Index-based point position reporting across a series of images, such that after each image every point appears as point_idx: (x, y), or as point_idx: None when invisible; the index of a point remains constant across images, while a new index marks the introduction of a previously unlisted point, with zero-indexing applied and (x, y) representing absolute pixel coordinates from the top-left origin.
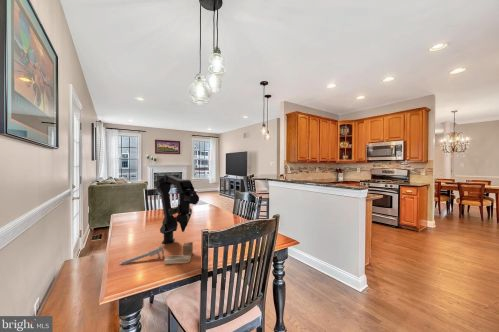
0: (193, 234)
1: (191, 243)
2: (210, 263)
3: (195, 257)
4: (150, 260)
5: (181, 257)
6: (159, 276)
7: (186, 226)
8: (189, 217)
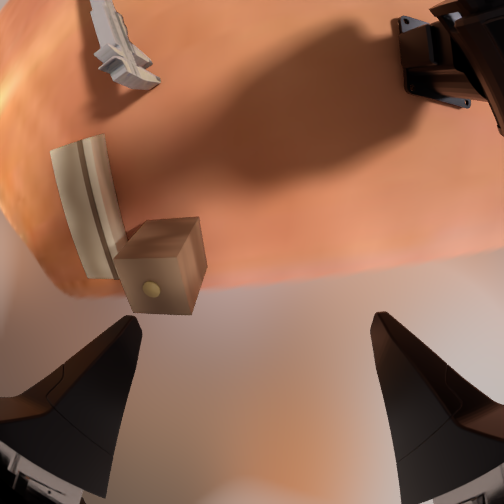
0: (500, 228)
1: (165, 310)
2: None
3: None
4: None
5: (86, 237)
6: (2, 178)
7: (370, 331)
8: (401, 467)
